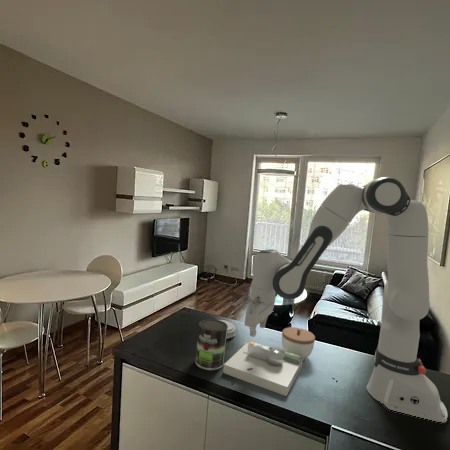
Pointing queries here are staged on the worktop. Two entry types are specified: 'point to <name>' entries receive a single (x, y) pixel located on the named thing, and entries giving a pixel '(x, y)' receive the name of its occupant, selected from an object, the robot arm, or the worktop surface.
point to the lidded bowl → (298, 341)
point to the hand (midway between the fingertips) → (257, 331)
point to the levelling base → (264, 370)
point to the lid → (229, 329)
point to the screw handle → (266, 353)
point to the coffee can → (211, 344)
